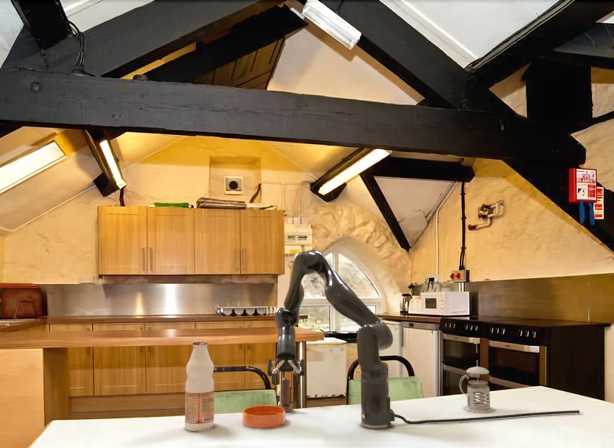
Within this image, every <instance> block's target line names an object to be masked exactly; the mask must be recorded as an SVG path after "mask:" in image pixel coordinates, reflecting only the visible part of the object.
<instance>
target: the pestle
mask: <svg viewBox="0 0 614 448" xmlns="http://www.w3.org/2000/svg"><path fill="white" fill-rule="evenodd" d="M280 384H281V402H280V403H278V406H279V407H282V408H284V409H285V414H289V413H293V412H294V404H293V403H291V379H290V378H289V377H283V378H282V379H281V381H280Z"/></svg>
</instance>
